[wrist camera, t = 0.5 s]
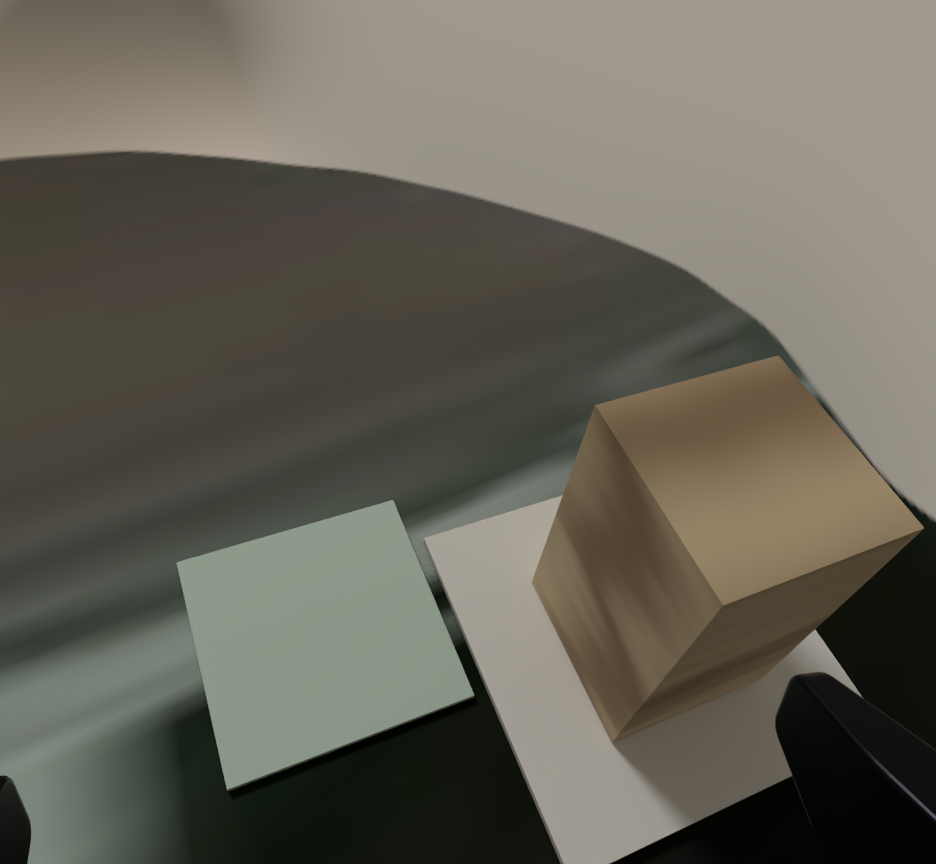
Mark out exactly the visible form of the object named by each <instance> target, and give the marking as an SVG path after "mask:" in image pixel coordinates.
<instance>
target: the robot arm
mask: <svg viewBox="0 0 936 864" xmlns="http://www.w3.org/2000/svg"><path fill="white" fill-rule="evenodd" d="M775 729H776V733H777V737H778V740H779V742H780V745H781V747H782V750H783V753H784V755H785V758H786V761H787V763H788V766H789V768H790V771H791V774H792V776H793V779H794V782H795V784H796V787H797V789H798V792H799V795H800V797H801V800H802V803H803V805H804V808H805V810H806V813H807V816H808V818H809V821H810V824H811V826H812V829H813V831H814V834H815V837H816V839H817V841H818V844H819V846H820V849H821V851H822V854H823V856H824V858H825V860H826V862H827V864H936V750H935V749H934V748H932V747H931V746H930V745H928V744H927V743H925V742H924V741H923V740H921V739H920V738H918V737H917V736H916V735H914V734H913V733H911V732H910V731H909V730H907V729H906V728H904V727H903V726H901V725H900V724H899V723H897V722H896V721H894V720H893V719H892V718H890V717H889V716H887V715H886V714H885V713H883V712H882V711H880V710H879V709H878V708H876V707H875V706H873V705H872V704H871V703H869V702H868V701H866V700H865V699H864V698H862V697H861V696H859V695H858V694H857V693H855V692H854V691H852V690H851V689H850V688H848V687H847V686H845V685H844V684H843V683H841V682H840V681H838V680H837V679H836V678H834V677H833V676H831V675H829V674H827V673H824V672H813V673H805V674H797V675H795V676H793V677H792V678H791V679H790V680H789V682H788V685H787V687H786V690H785V692H784V695H783V698H782V700H781V703H780V705H779V708H778V710H777V713H776V716H775ZM30 841H31V825H30V820H29V816H28V814H27V812H26V810H25V807H24V805H23V803H22V800H21V798H20V796H19V793H18V791H17V789H16V786H15V784H14V782H13V781H12V779H11V778H9V777H7V776H0V864H27V861H28V855H29V848H30Z"/></svg>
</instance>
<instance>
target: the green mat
mask: <svg viewBox="0 0 936 864" xmlns="http://www.w3.org/2000/svg"><path fill="white" fill-rule="evenodd" d="M177 567H178V571H179V576H180V580H181V585H182V589H183V594H184V598H185V603H186V607H187V612H188V616H189V621H190V625H191V630H192V634H193V639H194V643H195V648H196V652H197V657H198V661H199V666H200V670H201V675H202V679H203V684H204V688H205V693H206V697H207V702H208V706H209V711H210V715H211V720H212V724H213V729H214V733H215V738H216V742H217V747H218V751H219V756H220V760H221V765H222V769H223V774H224V778H225V783H226V787H227V791H231V790H233V789H236V788H238V787H241V786H244V785H246V784H249V783H251V782H254V781H257V780H259V779H262V778H265V777H267V776H270V775H272V774H275V773H278V772H280V771H283V770H285V769H288V768H291V767H293V766H296V765H298V764H301V763H304V762H306V761H309V760H311V759H314V758H317V757H319V756H322V755H325V754H327V753H330V752H332V751H335V750H338V749H340V748H343V747H345V746H348V745H351V744H353V743H356V742H358V741H361V740H364V739H366V738H369V737H372V736H374V735H377V734H379V733H382V732H385V731H387V730H390V729H392V728H395V727H398V726H400V725H403V724H405V723H408V722H411V721H413V720H416V719H419V718H421V717H424V716H426V715H429V714H432V713H434V712H437V711H439V710H442V709H445V708H447V707H450V706H452V705H455V704H458V703H460V702H463V701H466V700H468V699H471V698H473V697H474V693H473V691H472V688H471V686H470V684H469V681H468V679H467V676H466V674H465V672H464V669H463V667H462V664H461V662H460V660H459V657H458V655H457V652H456V650H455V648H454V645H453V643H452V640H451V638H450V636H449V633H448V631H447V628H446V626H445V624H444V621H443V619H442V616H441V614H440V612H439V609H438V607H437V604H436V602H435V600H434V597H433V595H432V592H431V590H430V587H429V585H428V583H427V580H426V578H425V575H424V573H423V571H422V568H421V566H420V563H419V561H418V559H417V556H416V554H415V551H414V549H413V547H412V544H411V542H410V539H409V537H408V535H407V532H406V530H405V527H404V525H403V523H402V520H401V518H400V515H399V513H398V511H397V508H396V506H395V503H394V501H393V500H391V501H388V502H384V503H381V504H378V505H374V506H371V507H367V508H364V509H360V510H357V511H353V512H350V513H346V514H343V515H339V516H336V517H332V518H329V519H326V520H322V521H319V522H315V523H312V524H308V525H305V526H301V527H298V528H294V529H291V530H287V531H284V532H280V533H277V534H274V535H270V536H267V537H263V538H260V539H256V540H253V541H249V542H246V543H242V544H239V545H235V546H232V547H228V548H225V549H221V550H218V551H215V552H211V553H208V554H204V555H201V556H197V557H194V558H190V559H187V560H183V561H180V562H177Z"/></svg>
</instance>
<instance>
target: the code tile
mask: <svg viewBox="0 0 936 864" xmlns="http://www.w3.org/2000/svg"><path fill="white" fill-rule="evenodd" d="M561 499H562V496H559V497H556V498H553V499H550V500H546V501H543V502H540V503H537V504H533V505H530V506H527V507H524V508H520V509H517V510H514V511H511V512H507V513H504V514H501V515H498V516H494V517H491V518H488V519H485V520H481V521H478V522H475V523H472V524H468V525H465V526H462V527H459V528H455V529H452V530H449V531H446V532H442V533H439V534H436V535H433V536H429V537H426V538H424V544H425V547H426V549H427V552H428V554H429V556H430V559H431V561H432V563H433V566H434V568H435V570H436V573H437V575H438V577H439V580H440V582H441V584H442V587H443V589H444V591H445V594H446V596H447V598H448V601H449V603H450V605H451V608H452V610H453V612H454V615H455V617H456V619H457V622H458V624H459V626H460V629H461V631H462V633H463V636H464V638H465V640H466V643H467V645H468V648H469V650H470V652H471V655H472V657H473V659H474V662H475V664H476V666H477V669H478V671H479V673H480V676H481V678H482V680H483V683H484V685H485V687H486V690H487V692H488V694H489V697H490V699H491V701H492V704H493V706H494V708H495V711H496V713H497V715H498V718H499V720H500V722H501V725H502V727H503V729H504V732H505V734H506V736H507V739H508V741H509V744H510V746H511V748H512V751H513V753H514V755H515V758H516V760H517V762H518V765H519V767H520V769H521V772H522V774H523V776H524V779H525V781H526V783H527V786H528V788H529V790H530V793H531V795H532V797H533V800H534V802H535V804H536V807H537V809H538V811H539V814H540V816H541V818H542V821H543V823H544V825H545V828H546V830H547V832H548V835H549V837H550V840H551V842H552V844H553V847H554V849H555V851H556V854H557V856H558V858H559V861H560V863H561V864H611V863H613V862H615V861H617V860H619V859H621V858H623V857H625V856H627V855H630V854H632V853H634V852H636V851H638V850H640V849H642V848H644V847H646V846H648V845H650V844H652V843H654V842H656V841H659V840H661V839H663V838H665V837H667V836H669V835H671V834H673V833H675V832H677V831H679V830H681V829H683V828H685V827H688V826H690V825H692V824H694V823H696V822H698V821H700V820H702V819H704V818H706V817H708V816H710V815H712V814H714V813H717V812H719V811H721V810H723V809H725V808H727V807H729V806H731V805H733V804H735V803H737V802H739V801H741V800H743V799H746V798H748V797H750V796H752V795H754V794H756V793H758V792H760V791H762V790H764V789H766V788H768V787H770V786H772V785H775V784H777V783H779V782H781V781H783V780H785V779H787V778H789V777H791V776H792V774H791V771H790V768H789V766H788V763H787V761H786V758H785V755H784V753H783V750H782V747H781V745H780V742H779V740H778V737H777V733H776V729H775V716H776V713H777V710H778V708H779V705H780V703H781V700H782V698H783V695H784V692H785V690H786V687H787V685H788V682H789V680H790V679H791V678H792V677H793V676H795V675H797V674H805V673H813V672H824V673H827V674H829V675H831V676H833V677H834V678H836V679H837V680H838V681H840V682H841V683H843V684H844V685H845V686H847V687H848V688H850V689H851V690H852V691H854V692H855V693H857V694H858V695H859V696H861V695H860V693H859V692H858V690H857V689H856V687H855V686H854V684H853V683H852V682H851V680H850V679H849V677H848V676H847V674H846V673H845V672H844V670H843V669H842V667H841V666H840V664H839V663H838V662H837V660H836V659H835V657H834V656H833V654H832V653H831V651H830V650H829V649H828V647H827V646H826V644H825V643H824V641H823V640H822V639H821V637H820V636H819V634H818V633H817V631H816V630H814V631H813V632H812V633H810V634H809V635H808V636H807V637H806V638H805V639H804V640H803V641H802V642H801V643H800V644H799V645H798V646H796V647H795V648H794V649H793V650H792V651H791V652H790V653H789V654H788V655H787V656H786V657H785V658H783V659H782V660H781V661H780V662H779V663H778V664H777V665H776V666H775V667H774V668H773V669H772V670H771V671H769V672H768V673H767V674H766V675H765V676H764V677H763V678H761V679H759V680H757V681H754V682H752V683H750V684H747V685H745V686H743V687H740V688H738V689H736V690H733V691H731V692H729V693H726V694H724V695H722V696H719V697H717V698H715V699H712V700H710V701H708V702H705V703H703V704H701V705H698V706H696V707H694V708H691V709H689V710H687V711H684V712H682V713H680V714H677V715H675V716H673V717H670V718H668V719H666V720H663V721H661V722H659V723H656V724H654V725H652V726H649V727H647V728H645V729H642V730H640V731H638V732H635V733H633V734H631V735H628V736H626V737H624V738H621V739H619V740H616V741H614V742H611V740H610V738H609V736H608V734H607V732H606V730H605V728H604V726H603V724H602V722H601V720H600V718H599V716H598V714H597V712H596V710H595V708H594V706H593V704H592V702H591V700H590V698H589V696H588V694H587V692H586V690H585V688H584V686H583V684H582V682H581V680H580V678H579V676H578V674H577V672H576V670H575V668H574V666H573V664H572V662H571V660H570V658H569V656H568V654H567V652H566V650H565V648H564V646H563V644H562V642H561V640H560V638H559V636H558V634H557V632H556V630H555V628H554V626H553V624H552V622H551V620H550V618H549V616H548V614H547V612H546V610H545V608H544V606H543V604H542V602H541V600H540V598H539V596H538V594H537V592H536V590H535V588H534V586H533V584H532V579H533V577H534V574H535V571H536V568H537V566H538V563H539V560H540V557H541V554H542V552H543V549H544V546H545V543H546V541H547V538H548V535H549V532H550V529H551V527H552V524H553V521H554V518H555V516H556V513H557V510H558V507H559V504H560V502H561ZM861 697H862V696H861ZM862 698H863V697H862Z"/></svg>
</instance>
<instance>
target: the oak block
mask: <svg viewBox="0 0 936 864" xmlns="http://www.w3.org/2000/svg"><path fill="white" fill-rule="evenodd" d="M923 529H924V527H923V526H922V525H921V524H920V522H919V521H918V520H917V519H916V518H915V517H914V515H913V514H912V513H911V512H910V511H909V509H908V508H907V507H906V506H905V505H904V504H903V502H902V501H901V500H900V499H899V498H898V496H897V495H896V494H895V493H894V492H893V491H892V489H891V488H890V487H889V486H888V485H887V483H886V482H885V481H884V480H883V479H882V478H881V476H880V475H879V474H878V473H877V472H876V470H875V469H874V468H873V467H872V466H871V465H870V463H869V462H868V461H867V460H866V459H865V457H864V456H863V455H862V454H861V453H860V451H859V450H858V449H857V448H856V447H855V446H854V444H853V443H852V442H851V441H850V440H849V438H848V437H847V436H846V435H845V434H844V433H843V431H842V430H841V429H840V428H839V427H838V425H837V424H836V423H835V422H834V421H833V420H832V418H831V417H830V416H829V415H828V414H827V412H826V411H825V410H824V409H823V408H822V407H821V405H820V404H819V403H818V402H817V401H816V399H815V398H814V397H813V396H812V395H811V394H810V392H809V391H808V390H807V389H806V388H805V386H804V385H803V384H802V383H801V382H800V381H799V379H798V378H797V377H796V376H795V375H794V373H793V372H792V371H791V370H790V369H789V367H788V366H787V365H786V364H785V363H784V362H783V360H782V359H781V358H780V357H779V356H775V357H771V358H767V359H764V360H760V361H756V362H753V363H749V364H745V365H742V366H738V367H734V368H730V369H727V370H723V371H719V372H716V373H712V374H708V375H705V376H701V377H697V378H694V379H690V380H686V381H683V382H679V383H675V384H672V385H668V386H664V387H661V388H657V389H653V390H650V391H646V392H642V393H638V394H635V395H631V396H627V397H624V398H620V399H616V400H613V401H609V402H605V403H602V404H598V405H595V407H594V410H593V413H592V416H591V418H590V421H589V424H588V427H587V429H586V432H585V435H584V438H583V441H582V443H581V446H580V449H579V452H578V454H577V457H576V460H575V463H574V466H573V468H572V471H571V474H570V477H569V479H568V482H567V485H566V488H565V491H564V493H563V496H562V499H561V502H560V504H559V507H558V510H557V513H556V516H555V518H554V521H553V524H552V527H551V529H550V532H549V535H548V538H547V541H546V543H545V546H544V549H543V552H542V554H541V557H540V560H539V563H538V566H537V568H536V571H535V574H534V577H533V579H532V584H533V586H534V588H535V590H536V592H537V594H538V596H539V598H540V600H541V602H542V604H543V606H544V608H545V610H546V612H547V614H548V616H549V618H550V620H551V622H552V624H553V626H554V628H555V630H556V632H557V634H558V636H559V638H560V640H561V642H562V644H563V646H564V648H565V650H566V652H567V654H568V656H569V658H570V660H571V662H572V664H573V666H574V668H575V670H576V672H577V674H578V676H579V678H580V680H581V682H582V684H583V686H584V688H585V690H586V692H587V694H588V696H589V698H590V700H591V702H592V704H593V706H594V708H595V710H596V712H597V714H598V716H599V718H600V720H601V722H602V724H603V726H604V728H605V730H606V732H607V734H608V736H609V738H610V740H611V742H614V741H616V740H619V739H621V738H624V737H626V736H628V735H631V734H633V733H635V732H638V731H640V730H642V729H645V728H647V727H649V726H652V725H654V724H656V723H659V722H661V721H663V720H666V719H668V718H670V717H673V716H675V715H677V714H680V713H682V712H684V711H687V710H689V709H691V708H694V707H696V706H698V705H701V704H703V703H705V702H708V701H710V700H712V699H715V698H717V697H719V696H722V695H724V694H726V693H729V692H731V691H733V690H736V689H738V688H740V687H743V686H745V685H747V684H750V683H752V682H754V681H757V680H759V679H761V678H763V677H764V676H765V675H766V674H767V673H768V672H769V671H771V670H772V669H773V668H774V667H775V666H776V665H777V664H778V663H779V662H780V661H781V660H782V659H783V658H785V657H786V656H787V655H788V654H789V653H790V652H791V651H792V650H793V649H794V648H795V647H796V646H798V645H799V644H800V643H801V642H802V641H803V640H804V639H805V638H806V637H807V636H808V635H809V634H810V633H812V632H813V631H814V630H815V629H816V628H817V627H818V626H819V625H820V624H821V623H822V622H823V621H825V620H826V619H827V618H828V617H829V616H830V615H831V614H832V613H833V612H834V611H835V610H836V609H838V608H839V607H840V606H841V605H842V604H843V603H844V602H845V601H846V600H847V599H848V598H849V597H850V596H852V595H853V594H854V593H855V592H856V591H857V590H858V589H859V588H860V587H861V586H862V585H863V584H865V583H866V582H867V581H868V580H869V579H870V578H871V577H872V576H873V575H874V574H875V573H876V572H877V571H879V570H880V569H881V568H882V567H883V566H884V565H885V564H886V563H887V562H888V561H889V560H890V559H892V558H893V557H894V556H895V555H896V554H897V553H898V552H899V551H900V550H901V549H902V548H903V547H904V546H906V545H907V544H908V543H909V542H910V541H911V540H912V539H913V538H914V537H915V536H916V535H917V534H919V533H920V532H921V531H922V530H923Z"/></svg>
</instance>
